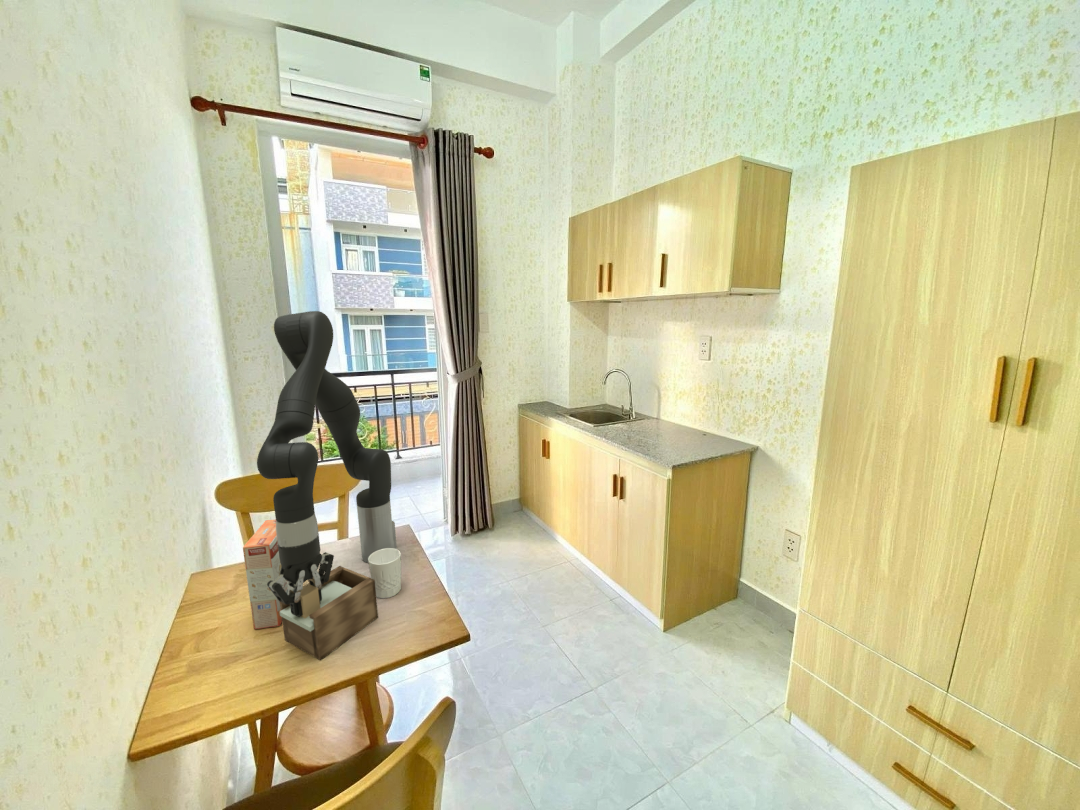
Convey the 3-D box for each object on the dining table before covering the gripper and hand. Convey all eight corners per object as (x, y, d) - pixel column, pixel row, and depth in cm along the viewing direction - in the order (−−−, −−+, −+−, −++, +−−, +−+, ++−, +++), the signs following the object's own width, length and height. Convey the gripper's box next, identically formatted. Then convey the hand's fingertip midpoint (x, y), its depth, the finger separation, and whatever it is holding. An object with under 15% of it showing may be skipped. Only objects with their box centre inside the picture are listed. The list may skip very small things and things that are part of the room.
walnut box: (343, 601, 109) (339, 565, 107) (378, 617, 103) (374, 579, 101) (284, 640, 96) (279, 599, 94) (320, 660, 90) (315, 618, 88)
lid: (333, 583, 104) (331, 561, 103) (363, 596, 99) (360, 572, 98) (280, 615, 93) (276, 590, 92) (310, 631, 88) (307, 605, 87)
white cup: (404, 596, 111) (401, 560, 109) (371, 603, 108) (367, 567, 106) (402, 579, 118) (399, 545, 116) (371, 585, 115) (368, 551, 113)
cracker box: (282, 626, 100) (270, 543, 96) (253, 631, 99) (239, 547, 94) (300, 590, 113) (290, 516, 109) (274, 594, 112) (263, 519, 108)
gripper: (318, 518, 97) (325, 587, 101) (252, 547, 85) (263, 624, 89) (339, 525, 94) (347, 596, 97) (274, 556, 82) (285, 636, 85)
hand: (307, 609), depth 93 cm, fingers closed on lid, 3 cm apart
